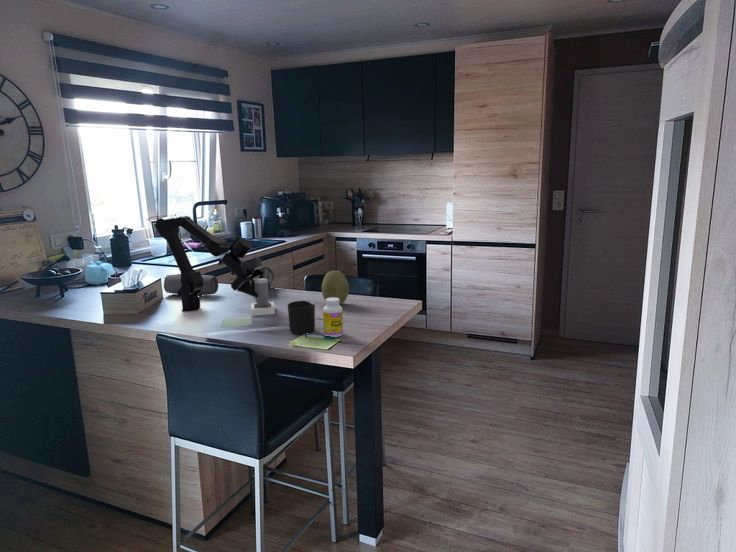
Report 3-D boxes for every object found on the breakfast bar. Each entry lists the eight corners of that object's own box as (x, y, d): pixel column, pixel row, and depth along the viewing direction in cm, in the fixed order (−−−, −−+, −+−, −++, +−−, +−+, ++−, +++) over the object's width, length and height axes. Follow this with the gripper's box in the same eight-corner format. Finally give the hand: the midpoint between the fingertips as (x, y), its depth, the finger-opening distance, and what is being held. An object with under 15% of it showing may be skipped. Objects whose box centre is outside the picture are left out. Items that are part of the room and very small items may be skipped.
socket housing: (251, 318, 196) (251, 309, 195) (251, 311, 205) (250, 303, 204) (275, 316, 198) (274, 307, 197) (274, 310, 207) (273, 301, 206)
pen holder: (317, 327, 184) (316, 300, 182) (313, 335, 175) (312, 307, 172) (291, 327, 184) (290, 300, 182) (286, 335, 175) (285, 308, 173)
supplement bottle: (330, 339, 170) (329, 302, 168) (320, 334, 176) (318, 298, 173) (346, 335, 174) (345, 299, 171) (336, 330, 179) (335, 295, 177)
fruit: (354, 303, 214) (353, 269, 211) (338, 310, 205) (337, 274, 202) (332, 300, 220) (331, 266, 217) (316, 306, 211) (315, 271, 208)
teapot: (104, 278, 273) (102, 257, 271) (120, 283, 262) (117, 261, 260) (80, 282, 264) (77, 261, 262) (95, 287, 253) (91, 265, 250)
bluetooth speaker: (163, 297, 230) (161, 276, 228) (175, 292, 239) (172, 272, 237) (210, 299, 226) (208, 277, 224) (219, 294, 235) (218, 272, 233)
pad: (220, 330, 182) (220, 327, 182) (222, 321, 193) (221, 318, 193) (251, 327, 185) (251, 324, 184) (251, 318, 195) (251, 316, 195)
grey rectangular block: (256, 313, 198) (254, 281, 195) (256, 310, 203) (254, 278, 200) (269, 312, 199) (267, 280, 197) (269, 309, 204) (267, 278, 201)
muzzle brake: (249, 300, 224) (248, 277, 222) (255, 285, 251) (254, 265, 249) (271, 299, 225) (270, 276, 223) (275, 284, 252) (273, 264, 250)
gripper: (235, 255, 189) (264, 285, 188) (259, 247, 206) (285, 275, 205) (218, 275, 192) (247, 305, 192) (243, 266, 210) (269, 293, 209)
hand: (263, 293), depth 199 cm, fingers open, 9 cm apart
